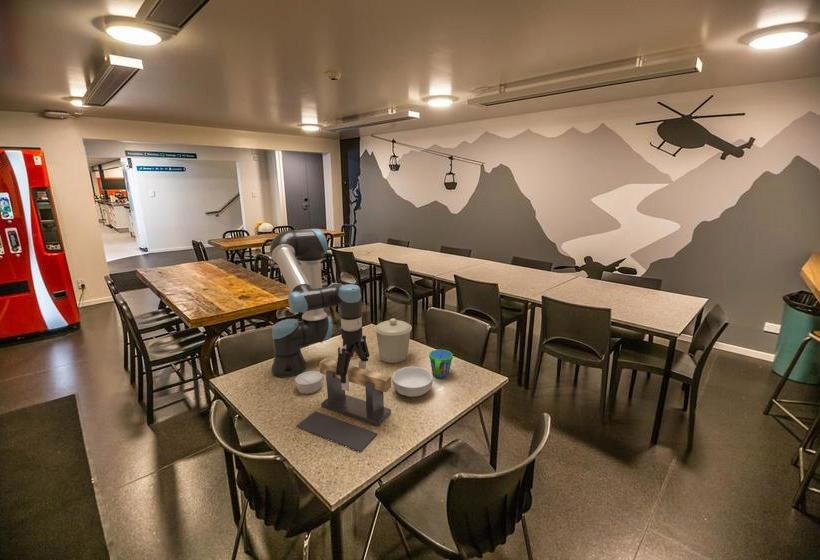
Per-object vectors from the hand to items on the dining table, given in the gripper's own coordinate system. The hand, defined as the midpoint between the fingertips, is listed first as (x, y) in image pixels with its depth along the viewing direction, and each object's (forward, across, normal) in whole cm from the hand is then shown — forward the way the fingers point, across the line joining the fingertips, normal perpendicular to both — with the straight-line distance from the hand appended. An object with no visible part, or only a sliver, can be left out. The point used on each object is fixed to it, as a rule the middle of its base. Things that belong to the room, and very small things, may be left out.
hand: (354, 383), depth 138 cm
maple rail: (-1, 0, 0) cm, 1 cm away
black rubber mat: (+12, -13, -1) cm, 18 cm away
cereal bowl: (+12, +22, -13) cm, 28 cm away
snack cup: (+12, +40, -18) cm, 45 cm away
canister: (+12, +44, +9) cm, 46 cm away
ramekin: (+12, +4, +27) cm, 30 cm away
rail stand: (+12, 0, 0) cm, 12 cm away
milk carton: (+12, +39, +30) cm, 51 cm away
